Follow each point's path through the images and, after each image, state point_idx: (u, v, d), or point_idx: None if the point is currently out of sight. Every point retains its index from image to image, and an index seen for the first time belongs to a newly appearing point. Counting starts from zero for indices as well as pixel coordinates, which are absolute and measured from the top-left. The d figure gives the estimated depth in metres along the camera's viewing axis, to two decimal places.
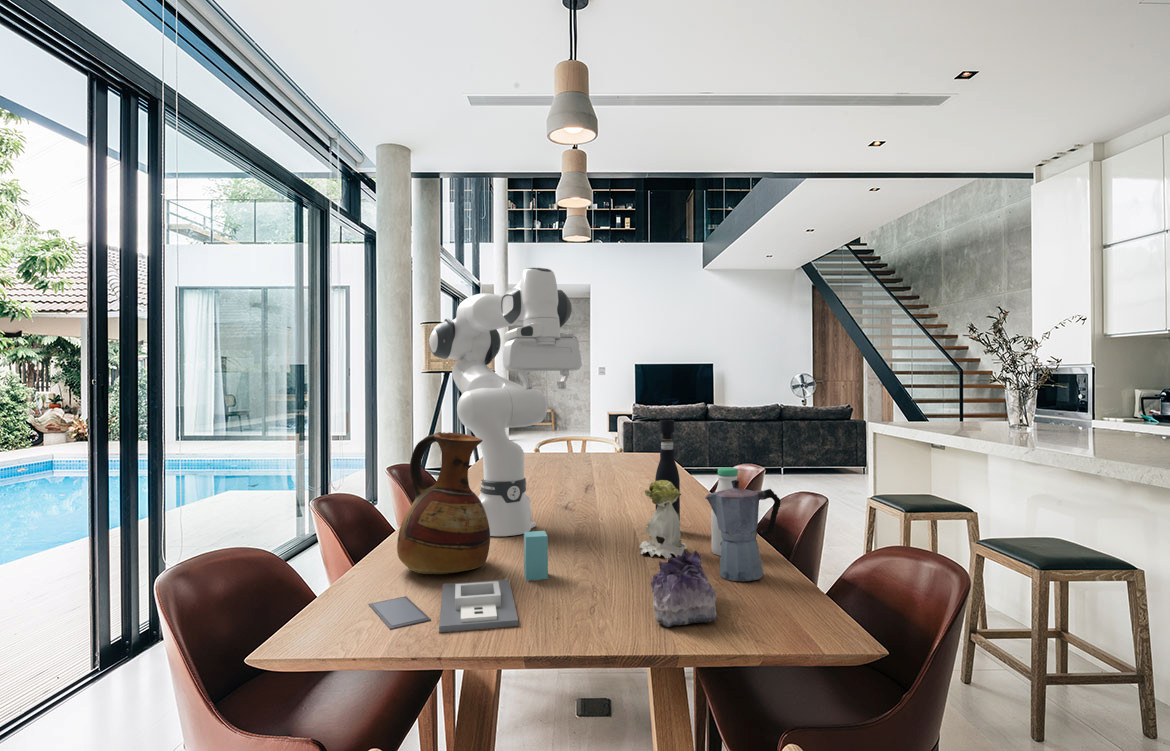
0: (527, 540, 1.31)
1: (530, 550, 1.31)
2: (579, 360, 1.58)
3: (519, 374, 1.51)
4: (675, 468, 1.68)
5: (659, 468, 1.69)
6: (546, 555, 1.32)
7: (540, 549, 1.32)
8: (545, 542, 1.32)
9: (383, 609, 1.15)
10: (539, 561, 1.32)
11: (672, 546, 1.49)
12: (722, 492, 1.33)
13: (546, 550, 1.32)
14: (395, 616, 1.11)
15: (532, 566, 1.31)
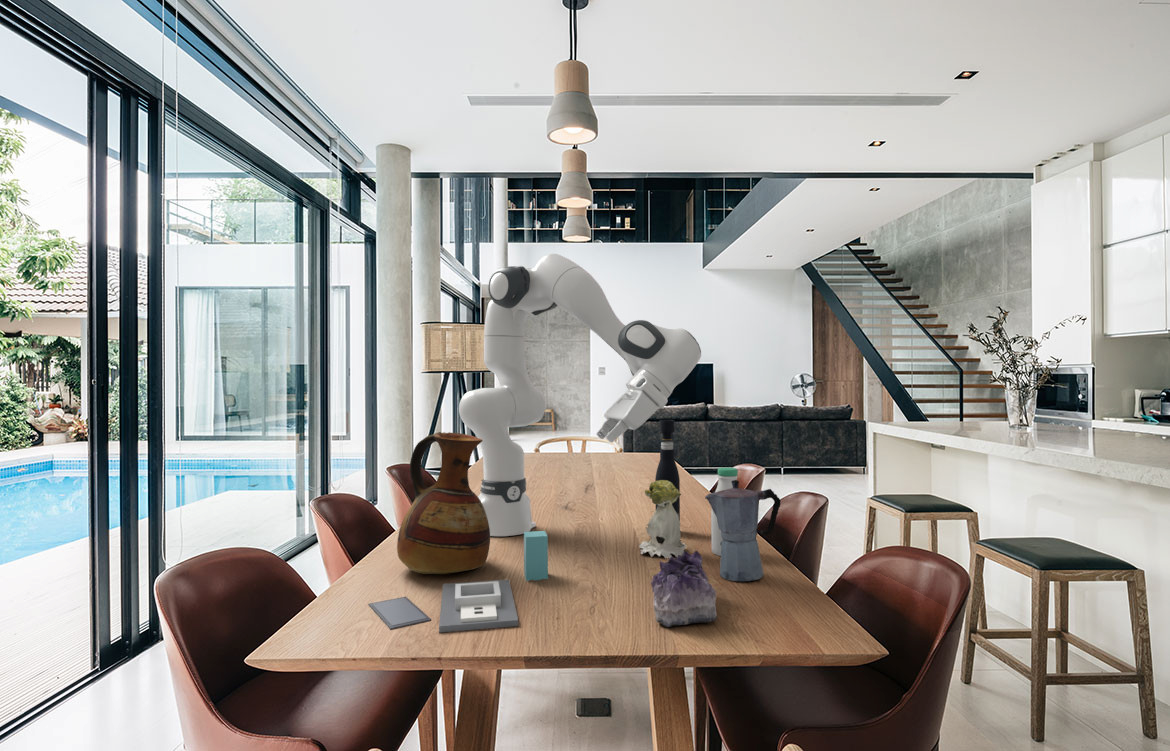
0: (527, 540, 1.31)
1: (530, 550, 1.31)
2: None
3: (620, 426, 1.32)
4: (675, 468, 1.68)
5: (659, 468, 1.69)
6: (546, 555, 1.32)
7: (540, 549, 1.32)
8: (545, 542, 1.32)
9: (383, 609, 1.15)
10: (539, 561, 1.32)
11: (672, 546, 1.49)
12: (722, 492, 1.33)
13: (546, 550, 1.32)
14: (395, 616, 1.11)
15: (532, 566, 1.31)
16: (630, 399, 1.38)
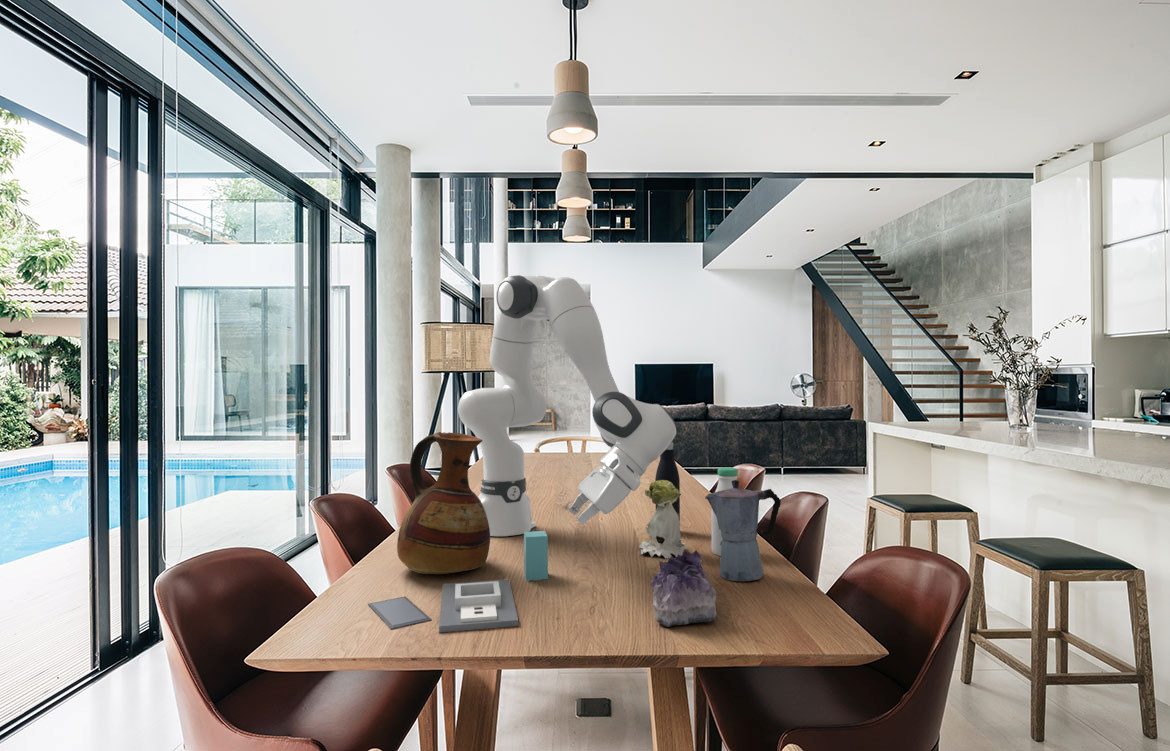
0: (527, 540, 1.31)
1: (530, 550, 1.31)
2: None
3: (591, 509, 1.29)
4: (675, 468, 1.68)
5: (659, 468, 1.69)
6: (546, 555, 1.32)
7: (540, 549, 1.32)
8: (545, 542, 1.32)
9: (383, 609, 1.15)
10: (539, 561, 1.32)
11: (672, 546, 1.49)
12: (722, 492, 1.33)
13: (546, 550, 1.32)
14: (396, 616, 1.11)
15: (532, 566, 1.31)
16: (603, 477, 1.36)
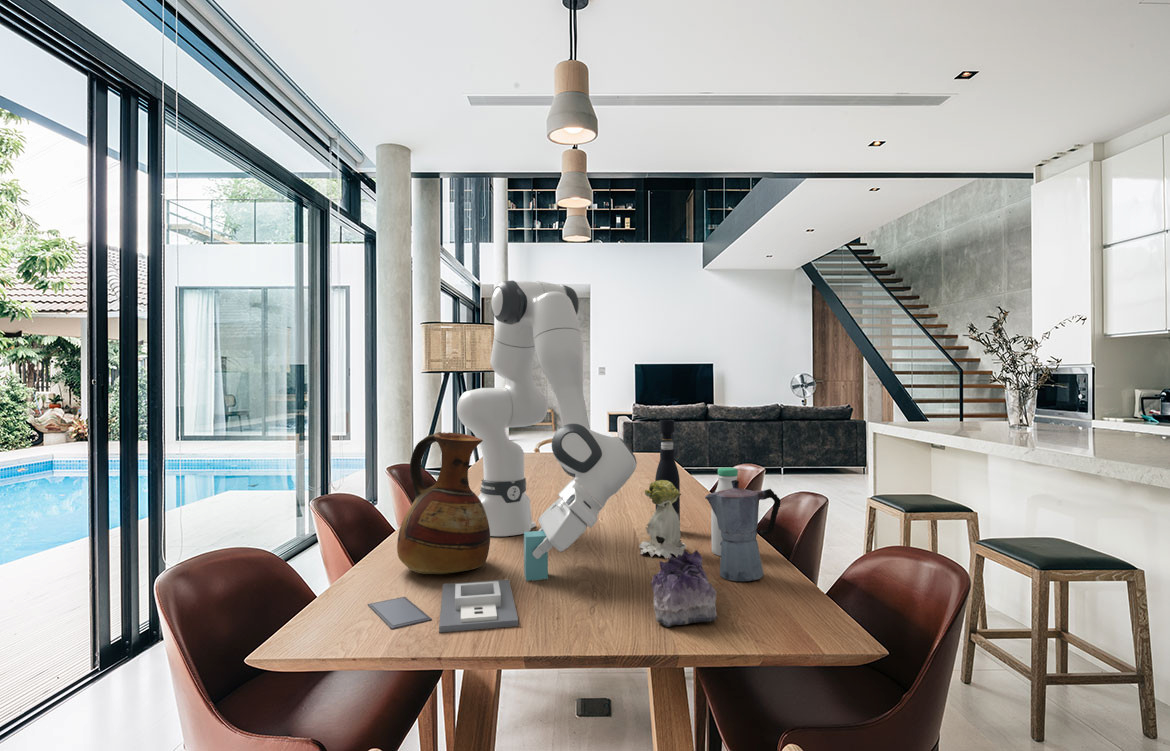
0: (527, 540, 1.31)
1: (530, 550, 1.31)
2: None
3: (546, 544, 1.29)
4: (675, 468, 1.68)
5: (659, 468, 1.69)
6: (546, 555, 1.32)
7: None
8: None
9: (383, 609, 1.15)
10: (539, 561, 1.32)
11: (672, 546, 1.49)
12: (722, 492, 1.33)
13: None
14: (396, 616, 1.11)
15: (532, 566, 1.31)
16: (561, 512, 1.34)
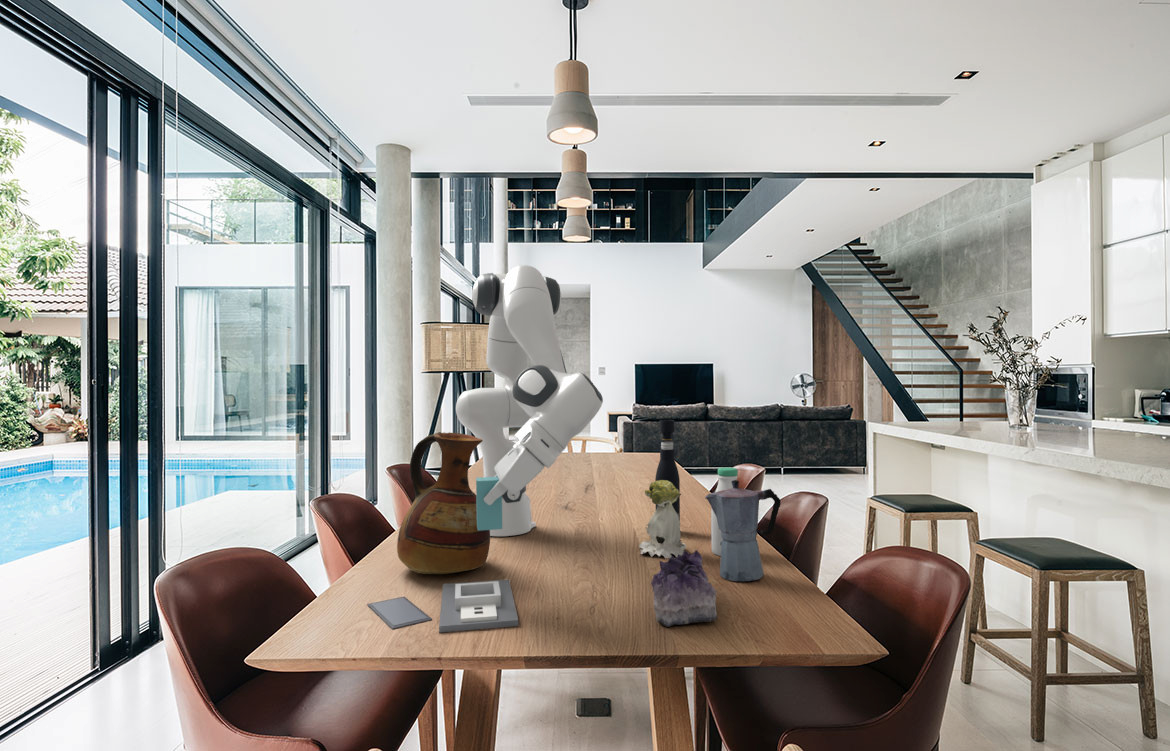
0: (478, 484, 1.17)
1: (482, 496, 1.17)
2: None
3: (499, 487, 1.15)
4: (675, 468, 1.68)
5: (659, 468, 1.69)
6: (500, 502, 1.17)
7: None
8: None
9: (383, 609, 1.15)
10: (492, 508, 1.17)
11: (672, 546, 1.49)
12: (722, 492, 1.33)
13: (500, 496, 1.17)
14: (396, 616, 1.11)
15: (485, 514, 1.17)
16: (517, 454, 1.19)
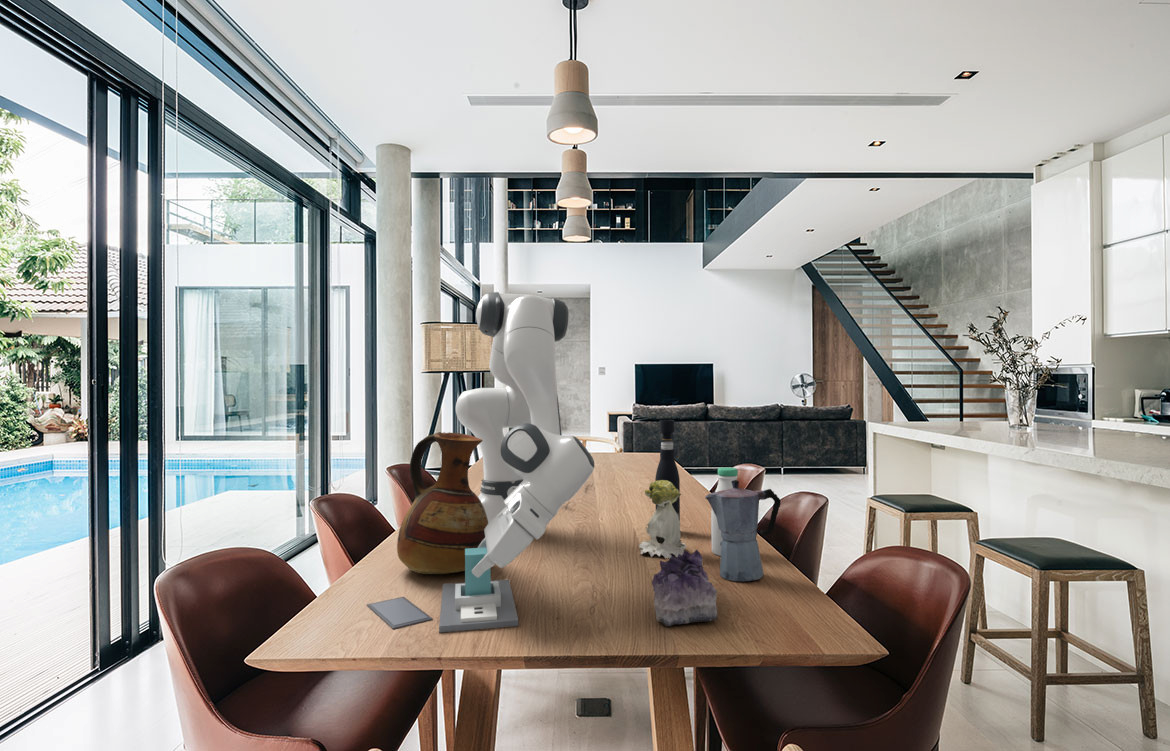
0: (466, 559, 1.14)
1: (470, 570, 1.14)
2: None
3: (487, 560, 1.11)
4: (675, 468, 1.68)
5: (659, 468, 1.69)
6: (489, 576, 1.15)
7: None
8: None
9: (383, 609, 1.15)
10: (481, 582, 1.15)
11: (672, 546, 1.49)
12: (722, 492, 1.33)
13: (489, 570, 1.15)
14: (396, 616, 1.11)
15: (473, 588, 1.15)
16: (507, 521, 1.17)
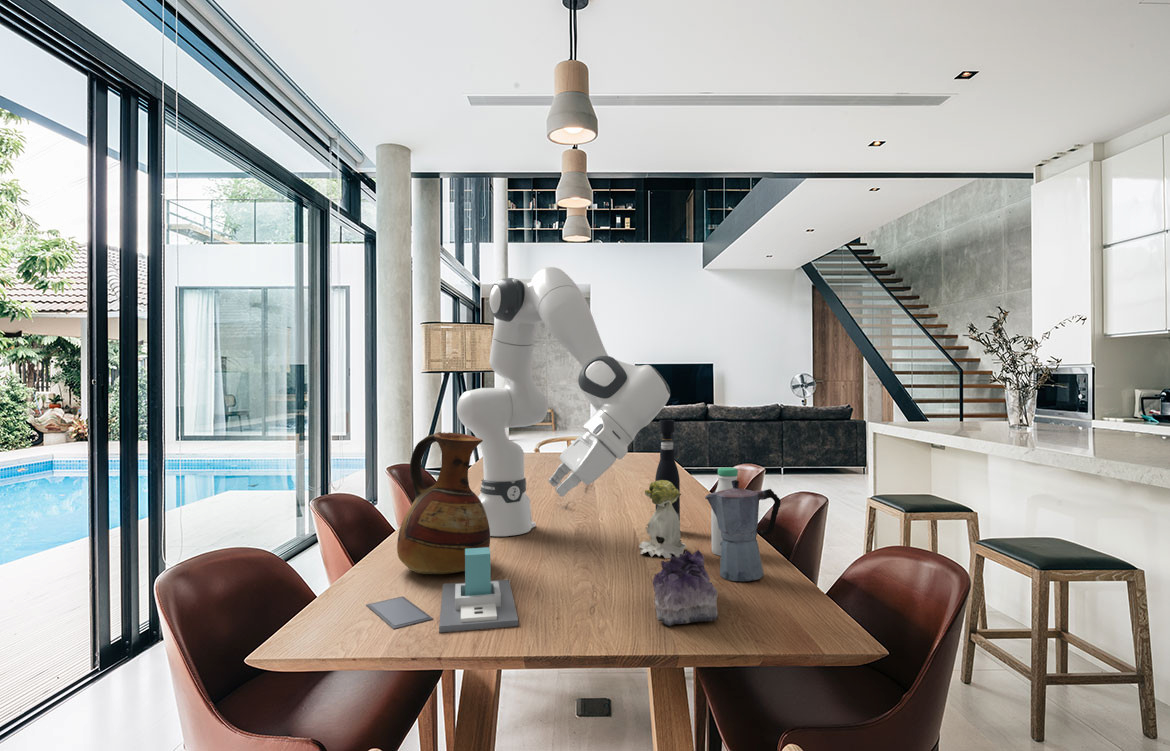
0: (466, 559, 1.14)
1: (470, 570, 1.14)
2: None
3: (572, 479, 1.15)
4: (675, 468, 1.68)
5: (659, 468, 1.69)
6: (489, 576, 1.15)
7: (481, 568, 1.15)
8: (487, 560, 1.15)
9: (382, 609, 1.15)
10: (481, 582, 1.15)
11: (672, 546, 1.49)
12: (722, 492, 1.33)
13: (489, 570, 1.15)
14: (396, 616, 1.11)
15: (473, 588, 1.15)
16: (586, 445, 1.21)
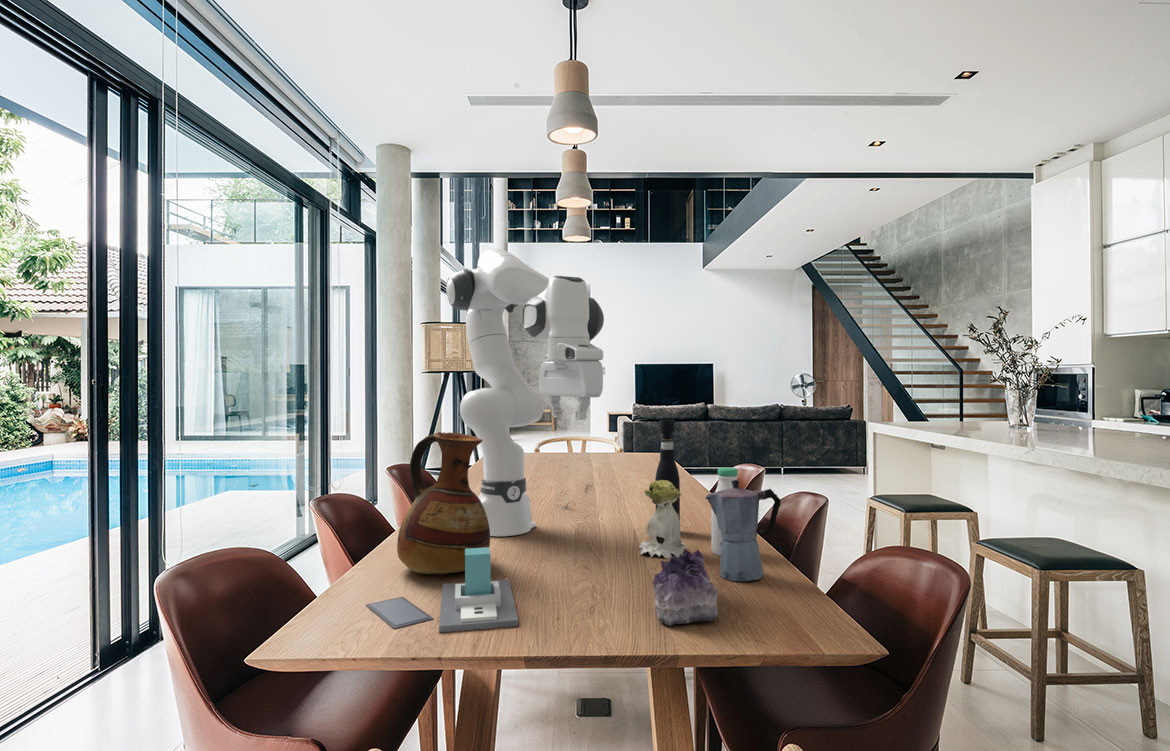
0: (466, 559, 1.14)
1: (470, 570, 1.14)
2: None
3: (584, 402, 1.28)
4: (675, 468, 1.68)
5: (659, 468, 1.69)
6: (489, 576, 1.15)
7: (481, 568, 1.15)
8: (487, 560, 1.15)
9: (382, 609, 1.15)
10: (481, 582, 1.15)
11: (672, 546, 1.49)
12: (722, 492, 1.33)
13: (489, 570, 1.15)
14: (397, 616, 1.11)
15: (473, 588, 1.15)
16: (564, 370, 1.32)
